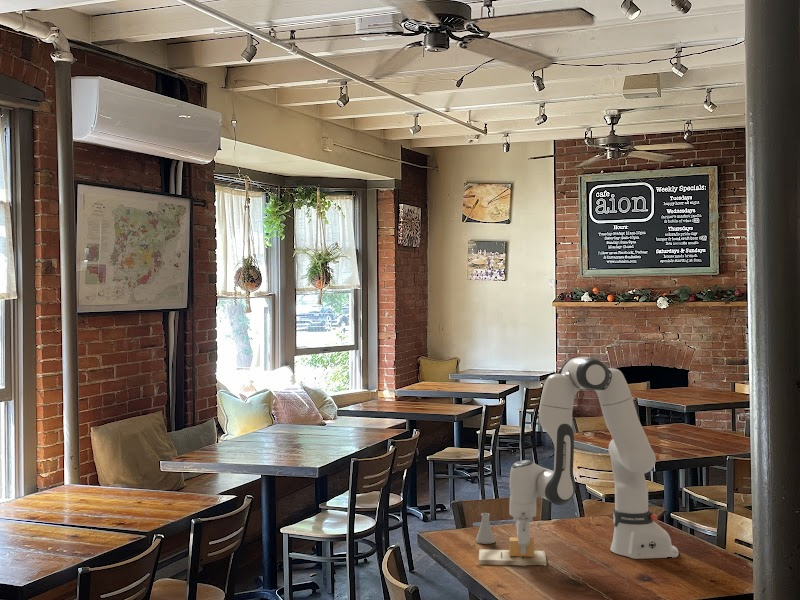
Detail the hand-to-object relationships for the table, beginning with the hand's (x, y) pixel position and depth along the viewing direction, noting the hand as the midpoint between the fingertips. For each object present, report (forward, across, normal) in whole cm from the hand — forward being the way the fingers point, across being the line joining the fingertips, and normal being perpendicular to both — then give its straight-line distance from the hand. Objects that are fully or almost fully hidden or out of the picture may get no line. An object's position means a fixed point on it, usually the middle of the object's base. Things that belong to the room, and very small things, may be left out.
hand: (522, 551), depth 311 cm
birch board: (+3, 0, +4) cm, 5 cm away
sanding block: (+1, 0, 0) cm, 1 cm away
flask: (+3, +21, +12) cm, 25 cm away
